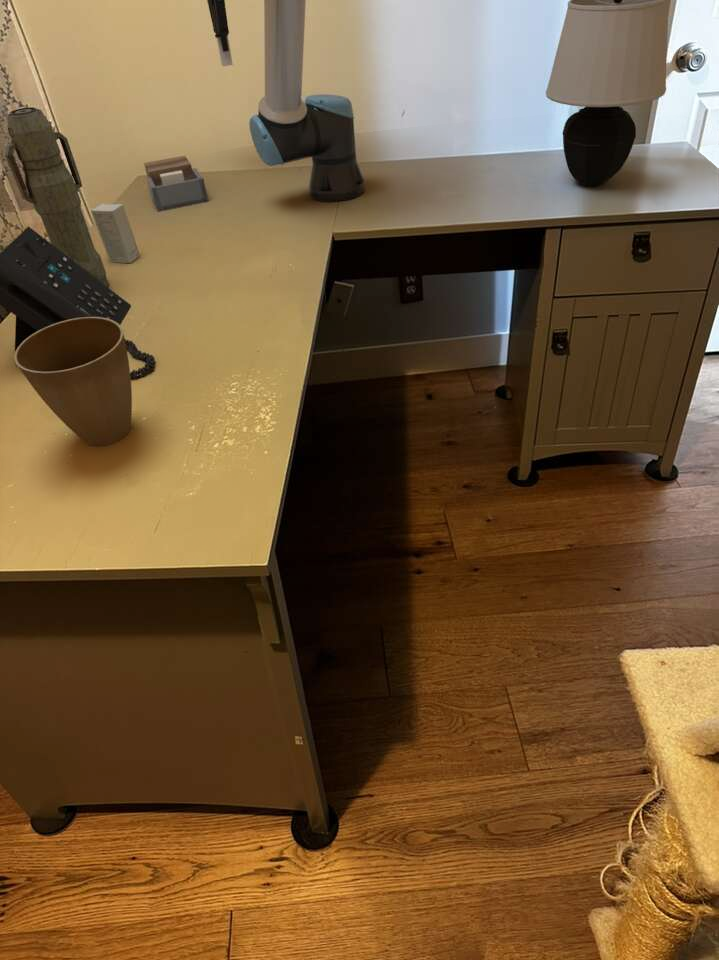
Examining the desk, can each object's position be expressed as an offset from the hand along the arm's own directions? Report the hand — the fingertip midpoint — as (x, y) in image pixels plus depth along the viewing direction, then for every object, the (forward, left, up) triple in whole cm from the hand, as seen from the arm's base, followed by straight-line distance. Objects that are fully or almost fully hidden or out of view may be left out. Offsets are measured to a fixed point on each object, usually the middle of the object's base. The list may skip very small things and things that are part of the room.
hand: (227, 65), depth 178 cm
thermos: (-58, +50, -29) cm, 82 cm away
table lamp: (-62, -76, -29) cm, 102 cm away
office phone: (-84, +50, -29) cm, 102 cm away
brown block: (+1, +22, -28) cm, 36 cm away
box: (-10, +22, -28) cm, 37 cm away
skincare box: (-45, +41, -29) cm, 67 cm away
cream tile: (-8, +22, -24) cm, 34 cm away
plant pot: (-115, +51, -29) cm, 129 cm away
